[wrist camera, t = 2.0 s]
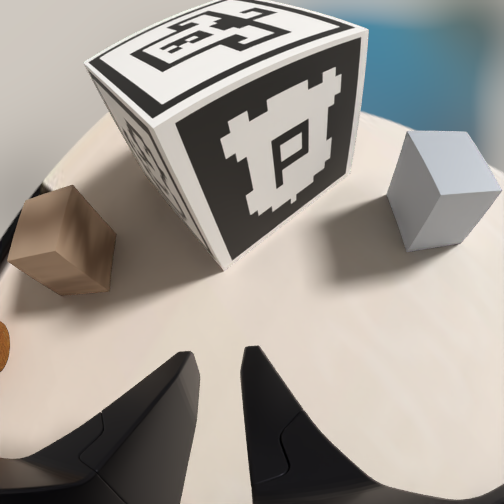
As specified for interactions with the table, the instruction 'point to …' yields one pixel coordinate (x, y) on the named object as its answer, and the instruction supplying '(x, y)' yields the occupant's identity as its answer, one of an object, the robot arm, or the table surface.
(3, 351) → the disposable coffee cup
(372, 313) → the table surface
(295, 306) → the table surface
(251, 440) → the robot arm
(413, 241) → the slate block
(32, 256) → the walnut block
